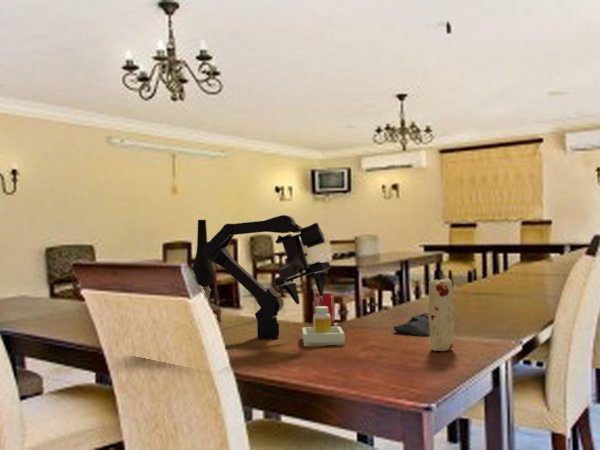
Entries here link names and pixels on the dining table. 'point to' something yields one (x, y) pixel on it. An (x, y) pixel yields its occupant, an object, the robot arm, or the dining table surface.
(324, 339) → the bin
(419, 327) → the dark slate chunk
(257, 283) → the robot arm
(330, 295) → the soda can
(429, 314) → the food model
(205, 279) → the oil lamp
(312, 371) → the dining table surface
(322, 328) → the supplement bottle
